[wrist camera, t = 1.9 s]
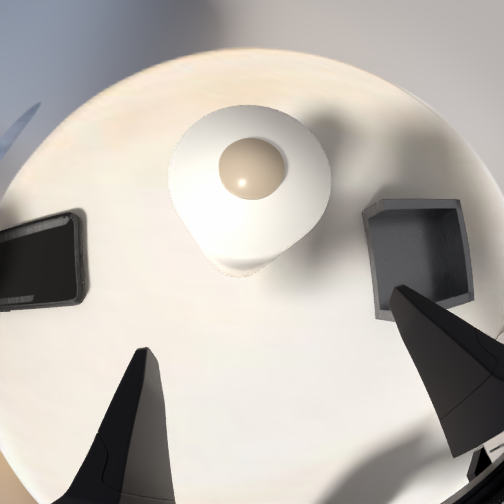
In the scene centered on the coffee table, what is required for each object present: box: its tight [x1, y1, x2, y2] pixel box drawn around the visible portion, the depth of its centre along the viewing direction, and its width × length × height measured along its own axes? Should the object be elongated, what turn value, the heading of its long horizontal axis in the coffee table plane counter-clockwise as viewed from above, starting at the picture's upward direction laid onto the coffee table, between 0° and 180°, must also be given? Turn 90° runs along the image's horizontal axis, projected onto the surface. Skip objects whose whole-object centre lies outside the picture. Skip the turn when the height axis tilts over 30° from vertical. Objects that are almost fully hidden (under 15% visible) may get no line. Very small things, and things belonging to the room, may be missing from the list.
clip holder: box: [362, 199, 474, 322], centre depth 21 cm, size 9×9×4 cm
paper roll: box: [168, 105, 331, 277], centre depth 15 cm, size 5×5×13 cm
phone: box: [0, 212, 86, 312], centre depth 19 cm, size 8×1×15 cm
